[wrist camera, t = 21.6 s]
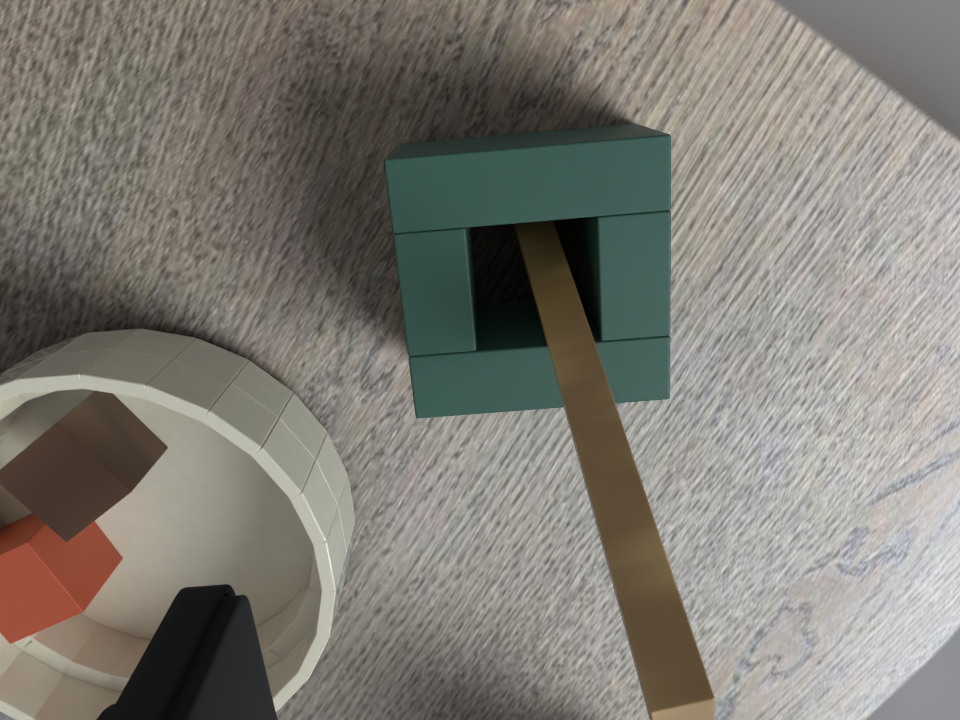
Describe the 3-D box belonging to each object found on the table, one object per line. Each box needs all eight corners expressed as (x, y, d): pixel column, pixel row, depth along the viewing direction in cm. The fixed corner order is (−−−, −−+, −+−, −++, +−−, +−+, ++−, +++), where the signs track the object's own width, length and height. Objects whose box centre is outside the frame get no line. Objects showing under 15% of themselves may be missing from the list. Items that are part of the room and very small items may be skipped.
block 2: (5, 525, 36) (-49, 577, 33) (74, 493, 36) (26, 542, 32) (56, 587, 38) (10, 644, 34) (123, 557, 37) (83, 612, 33)
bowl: (-82, 342, 34) (-194, 395, 28) (324, 309, 33) (293, 356, 28) (36, 667, 40) (-36, 763, 35) (379, 643, 40) (362, 737, 34)
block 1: (43, 433, 35) (-10, 477, 31) (103, 383, 34) (56, 422, 30) (109, 494, 36) (66, 543, 32) (169, 447, 35) (131, 492, 31)
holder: (400, 143, 31) (383, 159, 25) (636, 123, 31) (671, 134, 25) (426, 362, 34) (415, 419, 29) (638, 345, 34) (670, 399, 28)
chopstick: (545, 196, 31) (715, 699, 17) (551, 225, 32) (715, 720, 18) (509, 206, 31) (650, 713, 17) (516, 234, 32) (654, 733, 18)
